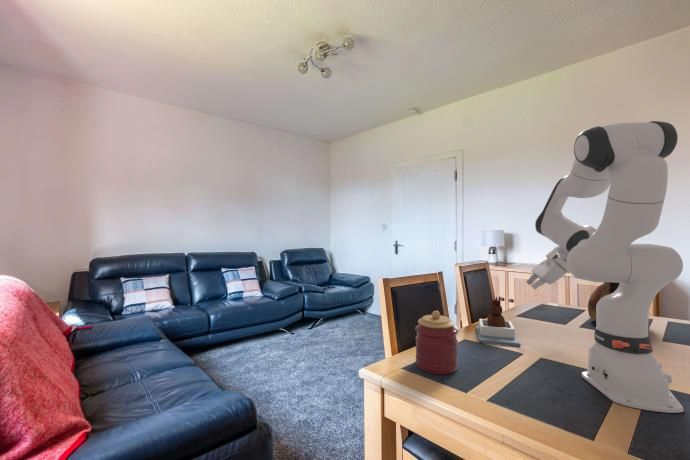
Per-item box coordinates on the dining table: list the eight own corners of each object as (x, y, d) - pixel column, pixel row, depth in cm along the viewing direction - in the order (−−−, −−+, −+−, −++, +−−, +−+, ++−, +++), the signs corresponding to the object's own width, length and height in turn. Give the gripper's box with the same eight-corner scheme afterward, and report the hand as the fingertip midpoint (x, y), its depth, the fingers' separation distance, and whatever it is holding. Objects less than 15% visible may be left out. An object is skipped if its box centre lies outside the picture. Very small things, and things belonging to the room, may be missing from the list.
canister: (465, 365, 103) (464, 310, 103) (445, 379, 94) (444, 319, 94) (429, 354, 112) (428, 304, 112) (407, 366, 103) (407, 311, 103)
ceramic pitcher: (638, 321, 146) (638, 255, 146) (652, 335, 129) (652, 260, 128) (585, 316, 156) (584, 254, 156) (591, 327, 139) (591, 258, 138)
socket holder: (520, 346, 118) (520, 333, 118) (479, 342, 123) (478, 330, 123) (512, 331, 135) (512, 320, 135) (476, 328, 140) (476, 317, 140)
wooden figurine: (507, 335, 127) (507, 297, 127) (493, 335, 127) (492, 297, 127) (499, 329, 134) (498, 293, 134) (485, 329, 134) (485, 293, 134)
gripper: (545, 253, 134) (518, 275, 137) (559, 257, 114) (528, 284, 118) (557, 264, 132) (530, 286, 136) (574, 270, 113) (543, 296, 116)
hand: (530, 285), depth 127 cm, fingers open, 8 cm apart
